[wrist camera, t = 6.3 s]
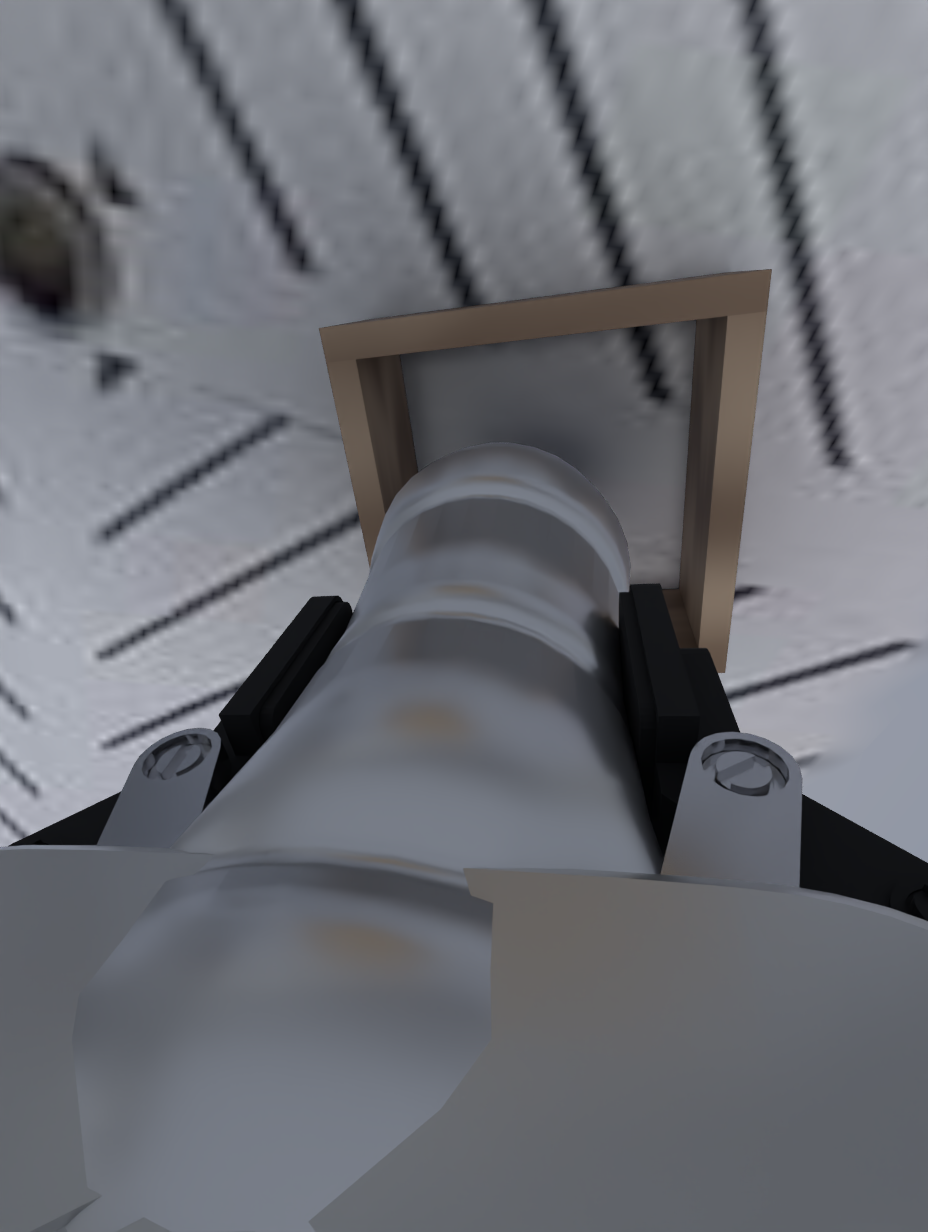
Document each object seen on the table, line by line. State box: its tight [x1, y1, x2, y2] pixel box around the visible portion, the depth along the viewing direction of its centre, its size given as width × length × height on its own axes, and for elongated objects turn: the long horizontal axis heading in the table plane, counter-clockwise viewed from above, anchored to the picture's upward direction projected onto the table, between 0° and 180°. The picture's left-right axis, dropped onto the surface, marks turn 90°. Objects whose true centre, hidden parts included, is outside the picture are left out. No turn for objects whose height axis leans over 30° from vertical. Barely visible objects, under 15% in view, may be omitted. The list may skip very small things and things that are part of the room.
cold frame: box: [319, 269, 772, 673], centre depth 22 cm, size 13×13×5 cm
